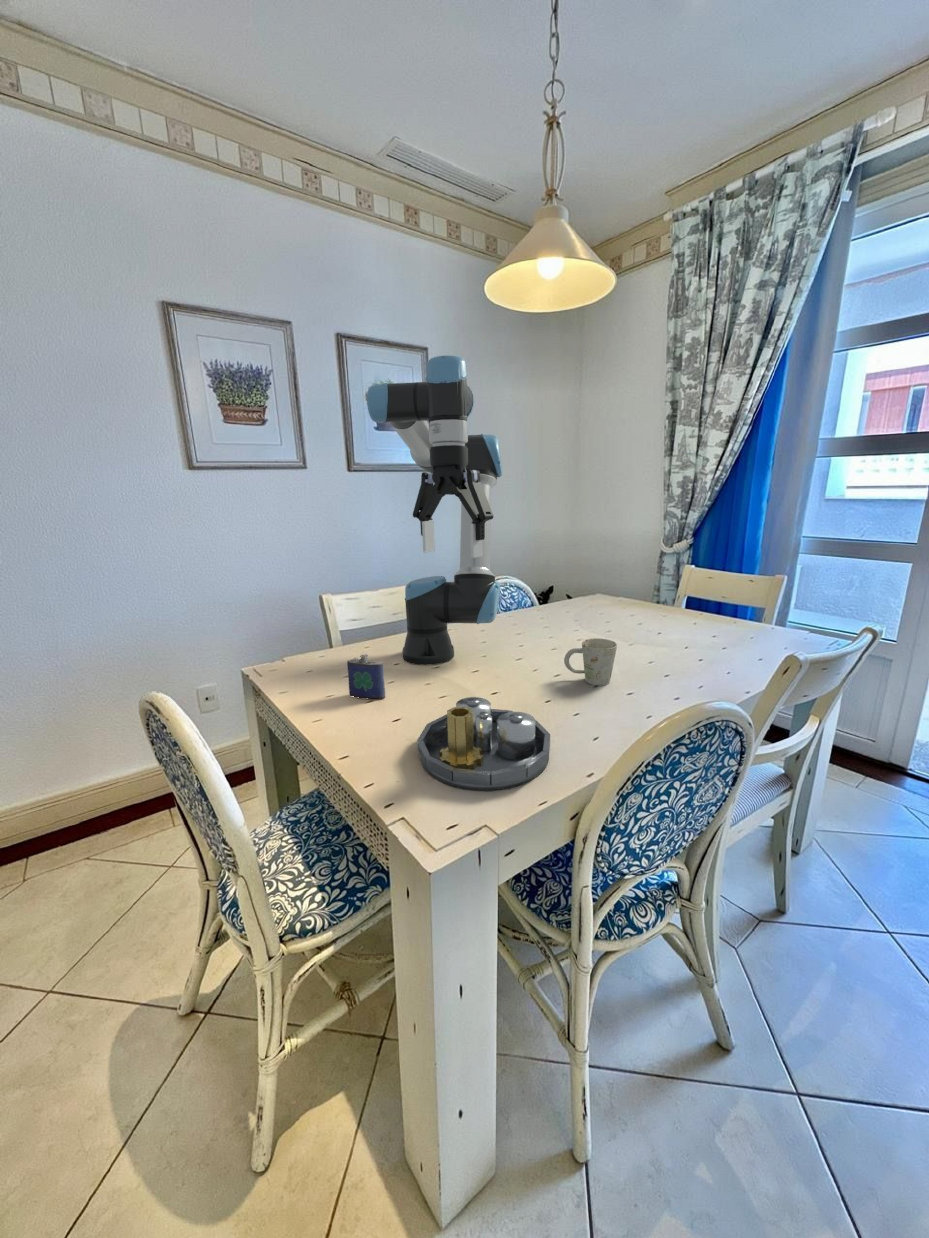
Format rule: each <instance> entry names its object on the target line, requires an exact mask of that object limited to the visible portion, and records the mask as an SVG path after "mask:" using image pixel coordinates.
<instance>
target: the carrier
mask: <svg viewBox="0 0 929 1238" xmlns="http://www.w3.org/2000/svg"><path fill="white" fill-rule="evenodd" d="M491 705H492V704H491V702H490V701H489V700H488V699H487V698H483V697H478V696H469V697H464V698H461V699H459V700H458V701H456V703H455V707H467V708H470V709H472V711H473V745H474V747H476V748H477V747H480V748H481V749H482V755H483V764H482V766H481V767H480V766H477V767H476V768H474V770H468V769H458V768H454V767H452V766H450V765H448V764H446V763H444V762H442V761H440V760H439V757H440V756H439V752H440V750H441V749H446V748H448V726H447V713H446V714H444V715H443V716H440V717H439V718H436V719H434V720H433V721H431V722H428V723H427V724H426V725H425V727H424V728H423V730H422V731H421V733H420V735H419V736H418V738H417V740H416V742H417V743H416V744H417V745H416V746H417V752H418V754H419V757H420V759H419V761H420V763H421V766H422V767H423V769H424V771H426V773H427V775H429V776H430V777H432V778H433V779H435V780H437V781H438V782H440V783H442V784H444V785H447V786H449V787H453V788H456V789H461V790H466V791H476V792H477V791H478V792H494V791H495V792H496V791H503V790H508V789H512V788H517V787H520V786H522V785H526V784H527V783H530V782H531V781H533V780H534V779H536V778H537V777H539V776H540V775H541V774H542V773H543V772H544V771H545V770H546V768H547V766H548V764H549V761H550V751H551V748H550V747H551V733H550V732H548V730H547V729H546V728H544V726H543V725H542V724H541V723H539V721H538V720H537V719H536V718H535V717H534V716H533V715H532V714H530V713H527V712H522V711H513V710H509V709H499V708H492V706H491Z"/></svg>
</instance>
